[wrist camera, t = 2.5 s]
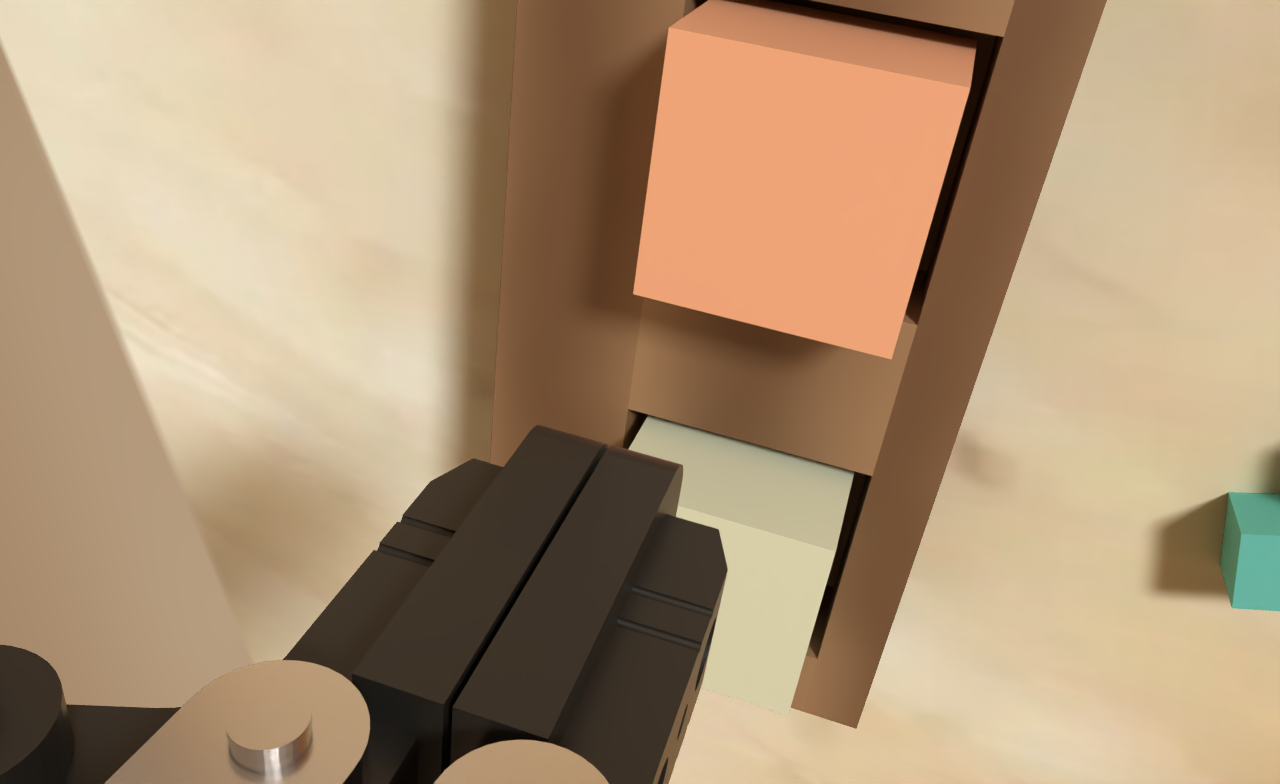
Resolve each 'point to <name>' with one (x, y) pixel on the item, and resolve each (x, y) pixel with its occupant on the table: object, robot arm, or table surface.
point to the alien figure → (1252, 551)
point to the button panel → (749, 354)
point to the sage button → (757, 551)
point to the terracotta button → (799, 167)
